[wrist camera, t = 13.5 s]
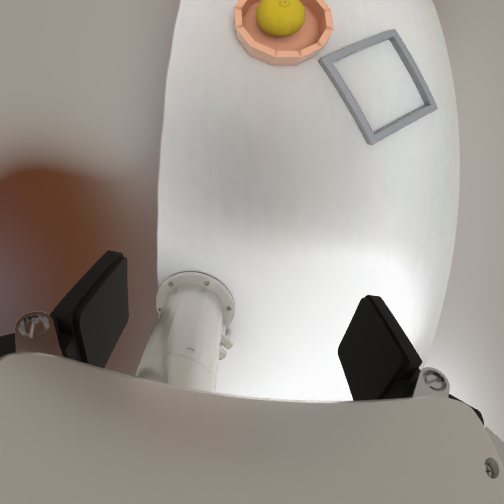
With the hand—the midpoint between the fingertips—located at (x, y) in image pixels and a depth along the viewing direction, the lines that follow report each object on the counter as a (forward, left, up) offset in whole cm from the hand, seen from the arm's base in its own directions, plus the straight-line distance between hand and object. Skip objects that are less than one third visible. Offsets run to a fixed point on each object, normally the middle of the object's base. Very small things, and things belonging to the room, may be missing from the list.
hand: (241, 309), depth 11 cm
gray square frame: (+2, -23, -28) cm, 36 cm away
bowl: (+15, -15, -28) cm, 35 cm away
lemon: (+15, -15, -27) cm, 35 cm away
